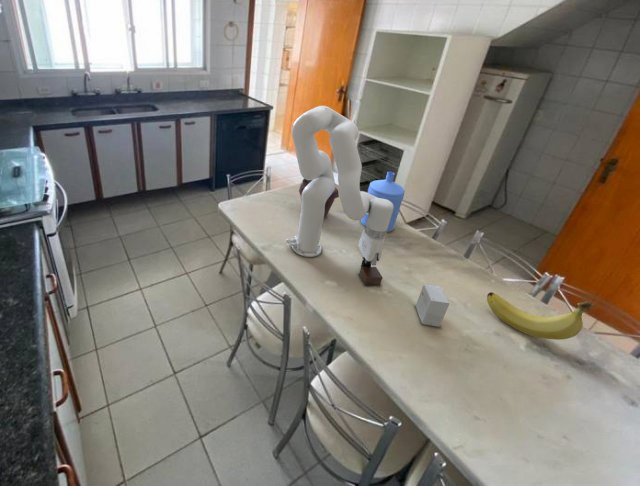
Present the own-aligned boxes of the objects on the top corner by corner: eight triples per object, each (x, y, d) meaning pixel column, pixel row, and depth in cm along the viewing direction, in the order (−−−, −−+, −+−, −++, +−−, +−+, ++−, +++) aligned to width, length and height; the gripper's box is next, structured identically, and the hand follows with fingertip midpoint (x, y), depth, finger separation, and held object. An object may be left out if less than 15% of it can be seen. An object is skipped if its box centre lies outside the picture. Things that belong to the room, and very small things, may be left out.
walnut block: (364, 285, 123) (367, 277, 121) (358, 274, 128) (360, 266, 127) (380, 285, 124) (382, 277, 122) (373, 274, 129) (375, 266, 127)
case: (338, 224, 161) (345, 192, 153) (297, 222, 161) (302, 189, 153) (330, 206, 177) (336, 176, 169) (293, 204, 177) (297, 174, 169)
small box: (439, 327, 107) (450, 304, 102) (421, 324, 108) (431, 300, 103) (431, 309, 114) (441, 286, 109) (414, 306, 115) (423, 283, 110)
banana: (478, 309, 115) (501, 265, 106) (484, 302, 118) (507, 258, 109) (560, 358, 99) (596, 310, 90) (565, 349, 102) (600, 302, 93)
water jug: (392, 220, 167) (407, 169, 154) (394, 236, 154) (411, 183, 141) (360, 213, 171) (372, 164, 159) (360, 229, 158) (373, 176, 145)
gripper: (358, 219, 128) (349, 257, 137) (374, 242, 115) (363, 282, 123) (376, 219, 129) (366, 257, 137) (394, 242, 116) (382, 282, 124)
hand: (365, 268), depth 130 cm, fingers closed
